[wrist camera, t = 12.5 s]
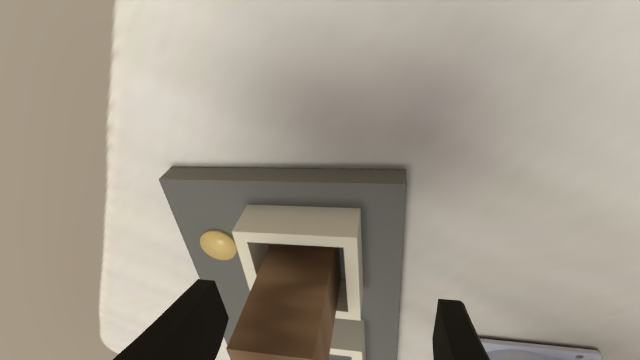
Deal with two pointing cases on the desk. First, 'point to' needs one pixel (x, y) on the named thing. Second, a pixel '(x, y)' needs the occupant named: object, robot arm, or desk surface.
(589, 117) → the desk surface
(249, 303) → the walnut peg
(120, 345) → the desk surface
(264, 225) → the socket board
